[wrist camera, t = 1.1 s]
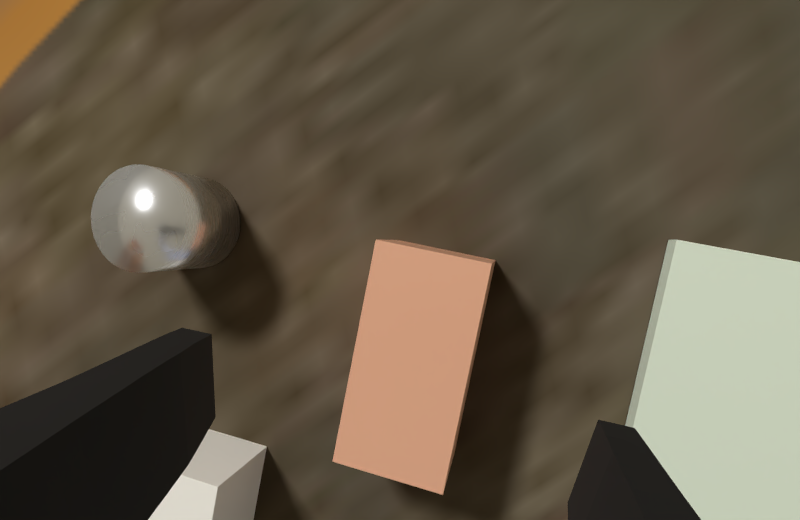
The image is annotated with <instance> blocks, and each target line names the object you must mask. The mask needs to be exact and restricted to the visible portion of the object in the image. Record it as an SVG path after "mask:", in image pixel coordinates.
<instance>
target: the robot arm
mask: <svg viewBox="0 0 800 520" xmlns="http://www.w3.org/2000/svg"><path fill="white" fill-rule="evenodd" d="M214 419H215V399H214V378H213V356H212V335H211V334H208V333H203V332H199V331H194V330H190V329H185V328H180V329H178V330H175V331H173V332H170V333H168V334H166V335H163V336H161V337H159V338H157V339H155V340H152V341H150V342H148V343H146V344H144V345H142V346H139V347H137V348H135V349H133V350H131V351H129V352H127V353H125V354H122V355H120V356H118V357H116V358H114V359H112V360H110V361H107V362H105V363H103V364H101V365H99V366H97V367H94V368H92V369H90V370H88V371H86V372H84V373H81V374H79V375H77V376H75V377H73V378H71V379H68V380H66V381H64V382H62V383H59V384H57V385H54V386H52V387H50V388H47V389H45V390H43V391H40V392H38V393H36V394H33V395H31V396H28V397H26V398H24V399H21V400H19V401H17V402H14V403H12V404H10V405H7V406H5V407H2V408H0V520H148V519H149V518H150V516H151V515H152V514H153V512H154V511H155V510H156V508H157V507H158V506H159V504H160V503H161V502H162V500H163V499H164V498H165V496H166V495H167V494H168V492H169V491H170V489H171V488H172V487H173V485H174V484H175V483H176V481H177V480H178V479H179V477H180V476H181V474H182V473H183V472H184V470H185V469H186V467H187V466H188V465H189V463H190V461H191V460H192V458H193V456H194V454H195V453H196V451H197V449H198V448H199V446H200V444H201V442H202V441H203V439H204V437H205V435H206V433H207V431H208V430H209V428H210V426H211V424H212V422H213V420H214ZM568 520H701V519H700V517H699V516H698V515H697V513H696V512H695V511H694V509H693V508H692V507H691V505H690V504H689V502H688V501H687V500H686V498H685V497H684V496H683V494H682V493H681V492H680V490H679V489H678V487H677V486H676V485H675V483H674V482H673V480H672V479H671V478H670V476H669V475H668V474H667V472H666V471H665V469H664V468H663V467H662V465H661V464H660V462H659V461H658V459H657V458H656V457H655V455H654V454H653V452H652V451H651V450H650V448H649V447H648V445H647V444H646V443H645V441H644V440H643V439H642V437H641V436H640V434H639V433H638V432H637V430H636V429H635V428H633V427H628V426H624V425H619V424H615V423H610V422H605V421H601V420H598V422H597V425H596V427H595V430H594V433H593V436H592V438H591V441H590V444H589V446H588V449H587V452H586V455H585V457H584V460H583V463H582V465H581V468H580V471H579V474H578V476H577V479H576V482H575V484H574V487H573V490H572V493H571V495H570V498H569V501H568Z"/></svg>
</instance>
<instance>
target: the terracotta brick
mask: <svg viewBox="0 0 800 520" xmlns="http://www.w3.org/2000/svg"><path fill="white" fill-rule="evenodd" d="M494 265H495V260H492V259H487V258H482V257H477V256H472V255H468V254H463V253H458V252H453V251H448V250H443V249H439V248H434V247H429V246H424V245H419V244H414V243H410V242H405V241H400V240H376V242H375V247H374V252H373V257H372V262H371V267H370V272H369V277H368V283H367V288H366V293H365V298H364V303H363V308H362V313H361V318H360V324H359V329H358V334H357V339H356V344H355V349H354V354H353V359H352V364H351V370H350V375H349V380H348V385H347V390H346V395H345V400H344V405H343V411H342V416H341V421H340V426H339V431H338V436H337V441H336V446H335V451H334V457H333V462H336V463H339V464H342V465H346V466H349V467H352V468H356V469H359V470H362V471H365V472H369V473H372V474H375V475H379V476H382V477H385V478H389V479H392V480H395V481H399V482H402V483H405V484H408V485H412V486H415V487H418V488H422V489H425V490H428V491H432V492H435V493H438V494H441V495H443V492H444V489H445V485H446V482H447V478H448V474H449V471H450V467H451V464H452V460H453V457H454V453H455V448H456V443H457V439H458V434H459V429H460V425H461V420H462V415H463V411H464V406H465V401H466V396H467V392H468V387H469V382H470V378H471V373H472V368H473V364H474V359H475V354H476V349H477V345H478V340H479V335H480V331H481V326H482V321H483V317H484V312H485V307H486V302H487V298H488V293H489V288H490V284H491V279H492V274H493V270H494Z"/></svg>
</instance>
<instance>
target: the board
mask: <svg viewBox="0 0 800 520" xmlns="http://www.w3.org/2000/svg"><path fill="white" fill-rule="evenodd" d="M625 426H628V427H633V428H635V429H636V430H637V432H638V433H639V434H640V436H641V437H642V439H643V440H644V441H645V443H646V444H647V445H648V447H649V448H650V450H651V451H652V452H653V454H654V455H655V457H656V458H657V459H658V461H659V462H660V464H661V465H662V467H663V468H664V469H665V471H666V472H667V474H668V475H669V476H670V478H671V479H672V480H673V482H674V483H675V485H676V486H677V487H678V489H679V490H680V492H681V493H682V494H683V496H684V497H685V498H686V500H687V501H688V502H689V504H690V505H691V507H692V508H693V509H694V511H695V512H696V513H697V515H698V516H699V517H700V519H701V520H800V262H795V261H790V260H785V259H779V258H774V257H768V256H763V255H757V254H752V253H746V252H741V251H735V250H730V249H724V248H719V247H714V246H708V245H703V244H697V243H692V242H686V241H681V240H668V244H667V248H666V253H665V257H664V261H663V266H662V270H661V274H660V278H659V283H658V287H657V291H656V296H655V300H654V304H653V308H652V313H651V317H650V321H649V326H648V330H647V334H646V339H645V343H644V347H643V351H642V356H641V360H640V364H639V369H638V373H637V377H636V381H635V386H634V390H633V394H632V399H631V403H630V407H629V411H628V416H627V420H626V424H625Z"/></svg>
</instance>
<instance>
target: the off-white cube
mask: <svg viewBox="0 0 800 520" xmlns="http://www.w3.org/2000/svg"><path fill="white" fill-rule="evenodd" d="M266 448H267V446H263V445H260V444H257V443H253V442H250V441H247V440H243V439H240V438H237V437H233V436H230V435H227V434H223V433H220V432H217V431H213V430H210V429H209V430H208V431H207V433H206V435H205V437H204V439H203V441H202V442H201V444H200V446H199V448H198V449H197V451H196V453H195V454H194V456H193V458H192V460H191V461H190V463H189V465H188V466H187V467H186V469H185V470H184V472H183V473H182V474H181V476H180V477H179V479H178V480H177V481H176V483H175V484H174V485H173V487H172V488H171V489H170V491H169V492H168V494H167V495H166V496H165V498H164V499H163V500H162V502H161V503H160V504H159V506H158V507H157V508H156V510H155V511H154V512H153V514H152V515H151V516H150V518H149V519H148V520H254V514H255V509H256V503H257V498H258V492H259V487H260V481H261V476H262V470H263V465H264V459H265V454H266Z"/></svg>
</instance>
